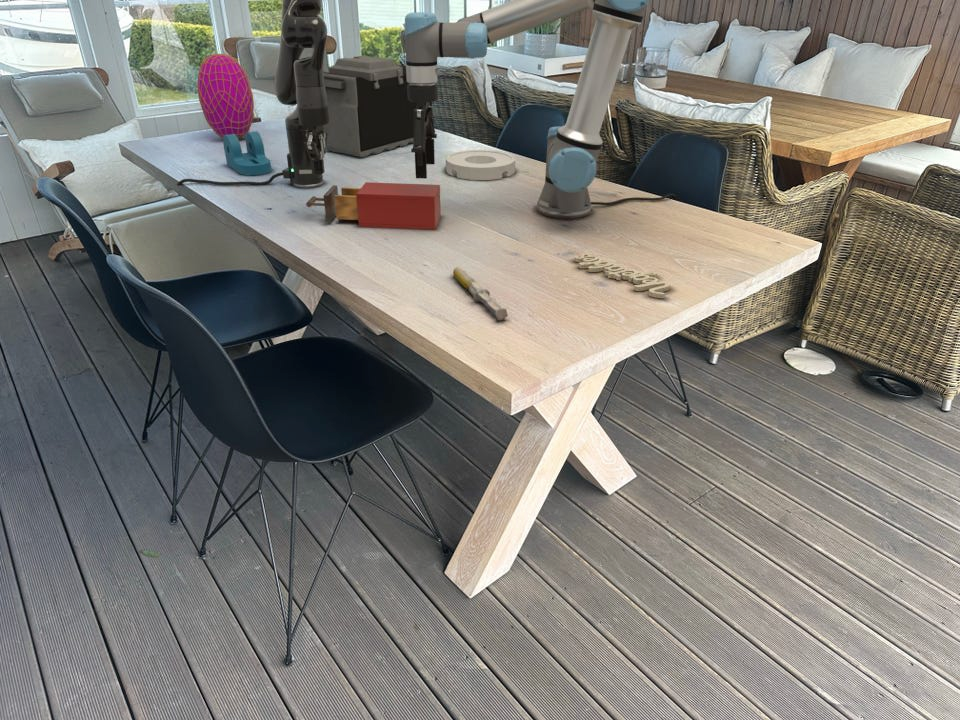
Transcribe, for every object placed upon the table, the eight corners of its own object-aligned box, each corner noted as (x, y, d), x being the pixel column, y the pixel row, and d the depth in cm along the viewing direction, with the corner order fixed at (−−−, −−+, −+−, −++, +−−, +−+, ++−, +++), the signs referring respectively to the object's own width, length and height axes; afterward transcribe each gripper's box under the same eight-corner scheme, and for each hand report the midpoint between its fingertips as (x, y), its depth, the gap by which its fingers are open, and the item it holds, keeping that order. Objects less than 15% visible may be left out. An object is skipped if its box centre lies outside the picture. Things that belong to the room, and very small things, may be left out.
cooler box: (383, 133, 276) (378, 52, 261) (425, 141, 265) (422, 56, 250) (314, 150, 251) (304, 61, 235) (358, 160, 240) (350, 67, 224)
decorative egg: (223, 147, 254) (207, 59, 238) (197, 138, 265) (180, 54, 250) (268, 138, 266) (256, 54, 251) (241, 130, 277) (228, 49, 262)
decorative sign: (686, 282, 150) (660, 295, 144) (686, 286, 150) (659, 300, 144) (592, 249, 166) (565, 259, 160) (592, 253, 167) (565, 263, 161)
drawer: (305, 220, 183) (302, 194, 179) (315, 209, 191) (312, 184, 187) (397, 223, 181) (395, 198, 177) (403, 212, 189) (402, 187, 186)
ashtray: (448, 160, 240) (448, 149, 238) (514, 162, 240) (514, 150, 238) (443, 179, 220) (443, 166, 218) (515, 180, 220) (515, 168, 218)
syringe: (449, 274, 155) (449, 263, 153) (465, 272, 156) (464, 260, 154) (490, 323, 135) (491, 310, 133) (508, 319, 136) (508, 307, 134)
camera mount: (227, 164, 233) (221, 132, 227) (257, 160, 238) (252, 129, 233) (244, 176, 220) (239, 143, 215) (276, 172, 225) (271, 139, 220)
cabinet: (358, 226, 182) (356, 193, 177) (367, 213, 191) (365, 182, 186) (435, 229, 180) (434, 196, 176) (440, 216, 189) (440, 184, 185)
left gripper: (319, 109, 166) (326, 181, 175) (334, 100, 177) (340, 167, 186) (289, 109, 166) (298, 180, 175) (305, 99, 178) (313, 166, 187)
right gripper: (430, 92, 156) (432, 184, 167) (444, 76, 178) (446, 158, 188) (397, 91, 157) (402, 184, 167) (415, 75, 178) (419, 158, 189)
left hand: (319, 173), depth 181 cm, fingers closed
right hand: (425, 170), depth 178 cm, fingers open, 13 cm apart
